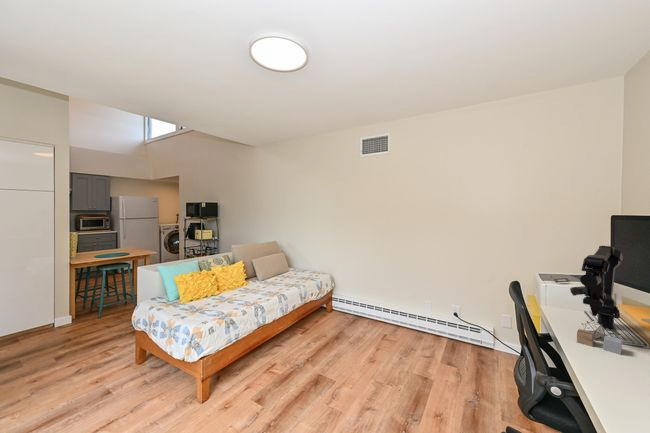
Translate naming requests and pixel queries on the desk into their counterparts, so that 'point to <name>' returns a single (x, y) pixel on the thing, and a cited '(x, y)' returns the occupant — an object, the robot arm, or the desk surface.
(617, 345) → the slate block
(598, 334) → the game die
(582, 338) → the walnut block
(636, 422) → the desk surface
